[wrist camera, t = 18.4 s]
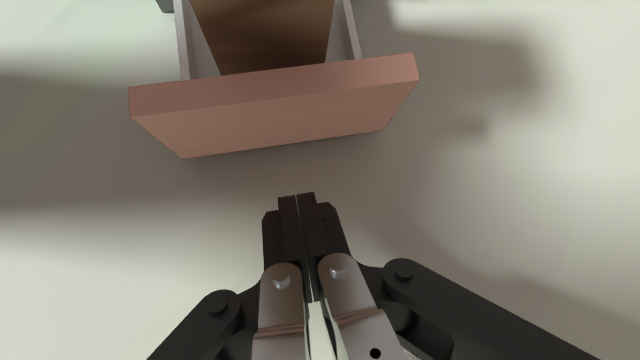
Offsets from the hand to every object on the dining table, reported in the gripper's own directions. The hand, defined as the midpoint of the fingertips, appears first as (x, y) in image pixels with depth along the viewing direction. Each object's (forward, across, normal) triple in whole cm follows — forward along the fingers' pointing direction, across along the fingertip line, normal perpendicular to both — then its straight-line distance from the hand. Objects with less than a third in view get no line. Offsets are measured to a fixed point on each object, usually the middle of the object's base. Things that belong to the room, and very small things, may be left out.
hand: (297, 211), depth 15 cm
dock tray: (+9, 0, -4) cm, 10 cm away
